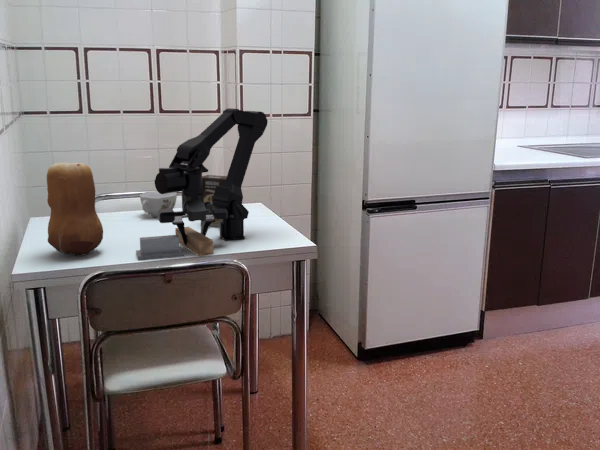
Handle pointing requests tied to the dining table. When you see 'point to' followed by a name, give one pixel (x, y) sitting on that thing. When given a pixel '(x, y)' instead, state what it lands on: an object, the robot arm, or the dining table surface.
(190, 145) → the robot arm
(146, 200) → the teacup
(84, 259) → the dining table surface
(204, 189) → the coffee box
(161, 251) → the ridge
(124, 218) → the dining table surface
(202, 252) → the batten
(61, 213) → the butternut squash
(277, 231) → the dining table surface
